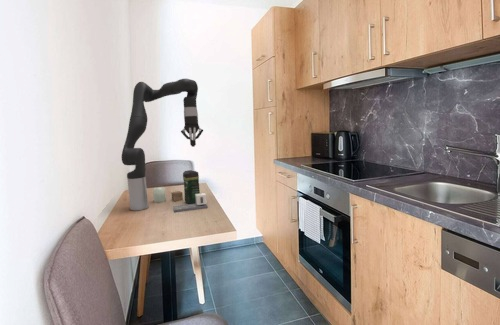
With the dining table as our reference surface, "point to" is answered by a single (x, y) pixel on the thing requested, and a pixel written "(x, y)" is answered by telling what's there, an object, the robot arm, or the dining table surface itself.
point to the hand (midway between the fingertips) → (193, 146)
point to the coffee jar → (191, 186)
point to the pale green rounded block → (159, 194)
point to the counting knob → (201, 199)
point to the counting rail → (188, 207)
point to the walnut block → (177, 196)
